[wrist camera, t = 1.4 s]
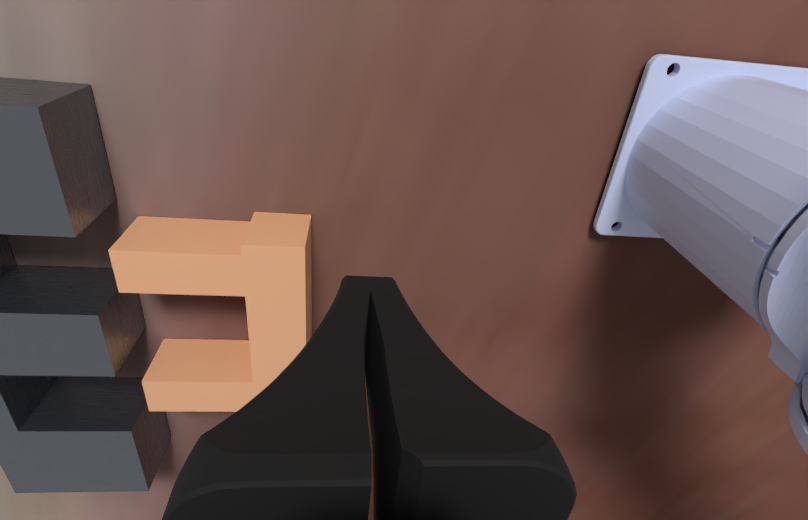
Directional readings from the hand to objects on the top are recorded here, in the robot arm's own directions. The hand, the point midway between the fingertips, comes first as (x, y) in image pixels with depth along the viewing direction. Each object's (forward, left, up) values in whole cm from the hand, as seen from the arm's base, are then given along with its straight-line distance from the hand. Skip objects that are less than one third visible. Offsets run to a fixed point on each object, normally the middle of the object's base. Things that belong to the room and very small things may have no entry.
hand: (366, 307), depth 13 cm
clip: (+6, +7, -9) cm, 13 cm away
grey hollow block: (+14, +7, -9) cm, 18 cm away
